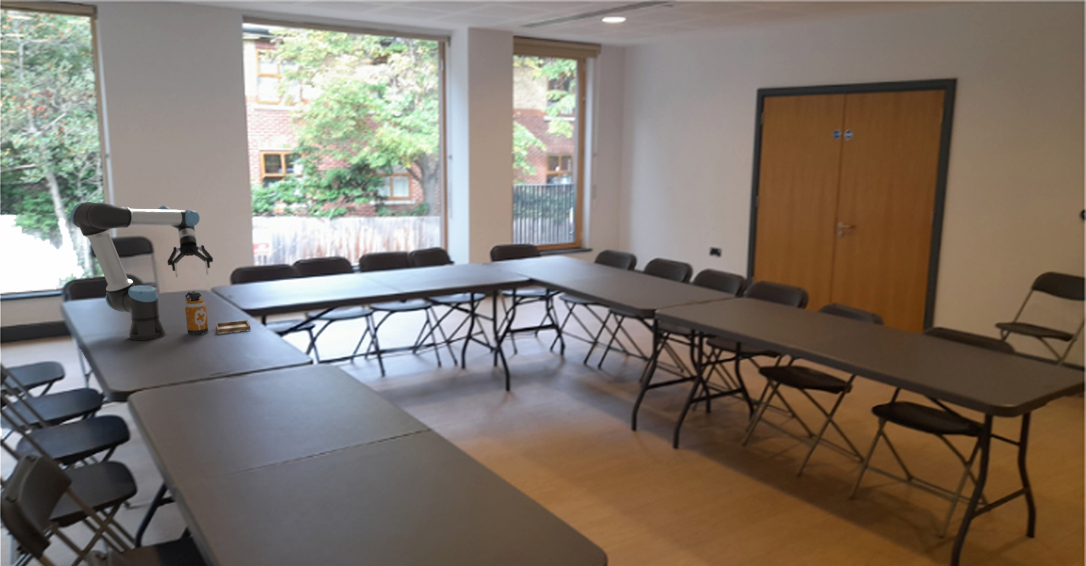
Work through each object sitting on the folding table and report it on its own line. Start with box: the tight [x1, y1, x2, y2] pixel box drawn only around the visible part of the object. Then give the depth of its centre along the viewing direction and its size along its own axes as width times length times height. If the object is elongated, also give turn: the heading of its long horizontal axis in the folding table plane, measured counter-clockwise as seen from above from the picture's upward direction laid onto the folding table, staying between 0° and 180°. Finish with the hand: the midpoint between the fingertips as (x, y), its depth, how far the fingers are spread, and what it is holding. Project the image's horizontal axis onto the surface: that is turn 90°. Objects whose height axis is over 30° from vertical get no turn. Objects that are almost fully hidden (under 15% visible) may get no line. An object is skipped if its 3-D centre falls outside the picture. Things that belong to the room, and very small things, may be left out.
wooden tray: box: [215, 319, 251, 335], centre depth 369 cm, size 15×14×2 cm
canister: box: [184, 290, 209, 336], centre depth 361 cm, size 9×11×20 cm
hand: (192, 274), depth 370 cm, fingers open, 13 cm apart
